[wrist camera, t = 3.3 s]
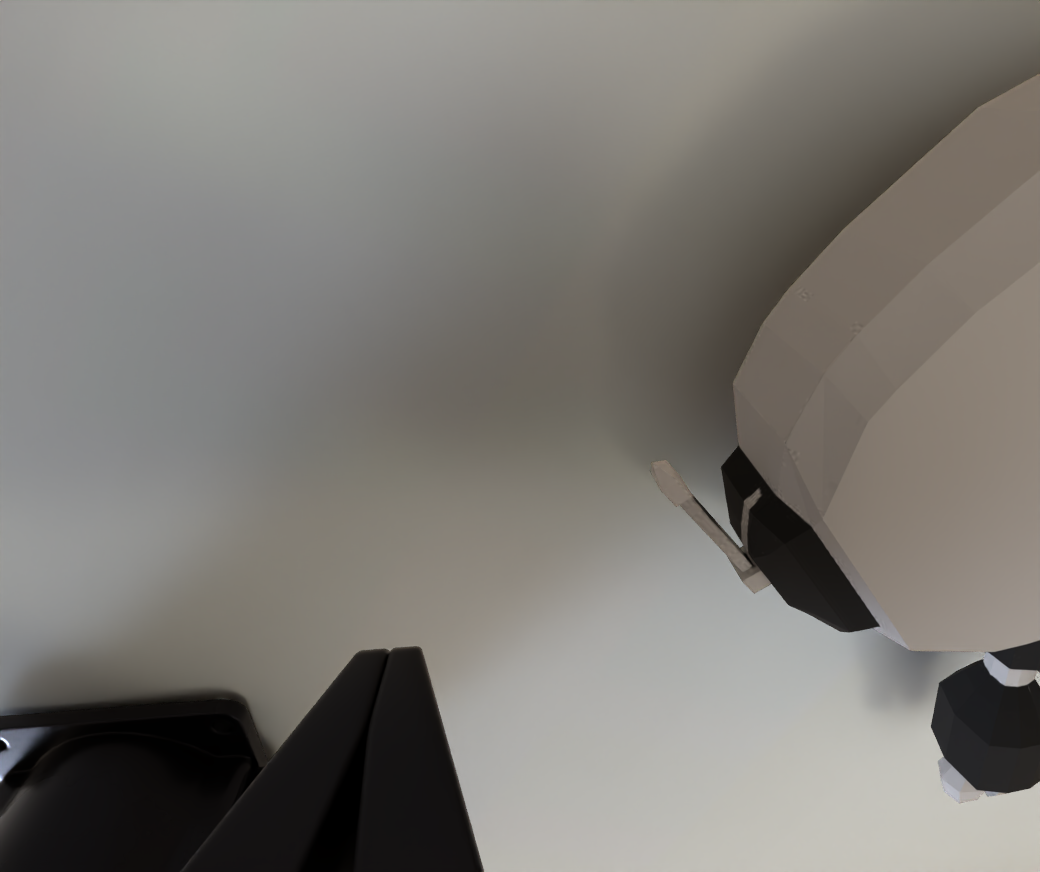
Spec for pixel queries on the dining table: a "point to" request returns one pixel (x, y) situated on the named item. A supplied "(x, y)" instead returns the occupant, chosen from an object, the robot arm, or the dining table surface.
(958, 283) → the robot toy
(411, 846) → the robot arm
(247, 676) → the dining table surface
